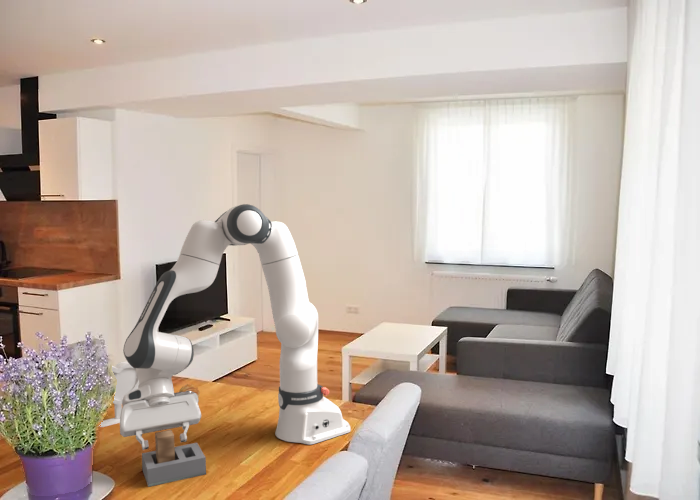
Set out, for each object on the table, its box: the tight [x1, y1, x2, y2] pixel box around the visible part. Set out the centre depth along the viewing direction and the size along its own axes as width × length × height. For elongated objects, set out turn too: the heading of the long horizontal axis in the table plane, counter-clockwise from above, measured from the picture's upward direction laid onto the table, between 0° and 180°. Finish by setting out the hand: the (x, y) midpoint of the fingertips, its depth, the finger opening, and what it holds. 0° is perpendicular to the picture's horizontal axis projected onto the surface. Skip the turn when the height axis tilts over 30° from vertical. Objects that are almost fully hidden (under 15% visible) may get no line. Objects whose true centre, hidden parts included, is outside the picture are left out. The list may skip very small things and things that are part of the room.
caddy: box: [141, 442, 207, 488], centre depth 154 cm, size 14×10×4 cm
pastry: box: [179, 383, 201, 398], centre depth 209 cm, size 9×7×4 cm
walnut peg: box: [154, 429, 176, 464], centre depth 152 cm, size 4×4×10 cm
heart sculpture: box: [98, 360, 139, 428], centre depth 188 cm, size 16×5×18 cm, turn 131°
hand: (165, 444), depth 152 cm, fingers open, 8 cm apart
